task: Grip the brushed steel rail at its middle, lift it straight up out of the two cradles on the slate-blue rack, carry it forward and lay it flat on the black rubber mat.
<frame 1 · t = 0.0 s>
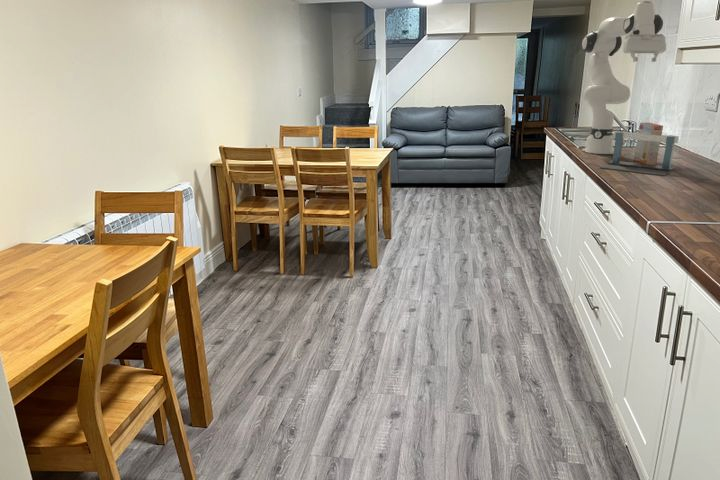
hand: (644, 61, 274), 52 cm above the kitchen counter, tool tilted 20°, fingers open, 8 cm apart
rack: (639, 167, 283), on the kitchen counter
mat: (633, 170, 274), on the kitchen counter
rail: (644, 139, 278), point 14 cm above the kitchen counter, touching rack
cracker box: (644, 163, 294), on the kitchen counter
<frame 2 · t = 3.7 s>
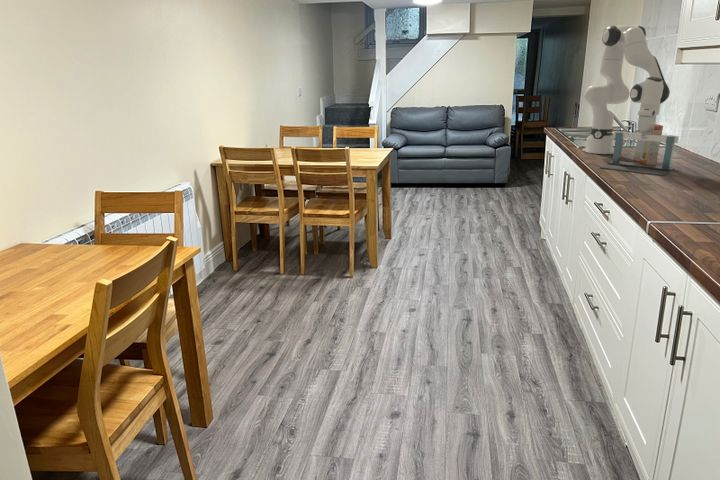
hand: (644, 138, 278), 15 cm above the kitchen counter, tool pointing down, fingers closed on rail, 3 cm apart
rail: (644, 139, 278), point 14 cm above the kitchen counter, touching gripper, rack
everything else where it was.
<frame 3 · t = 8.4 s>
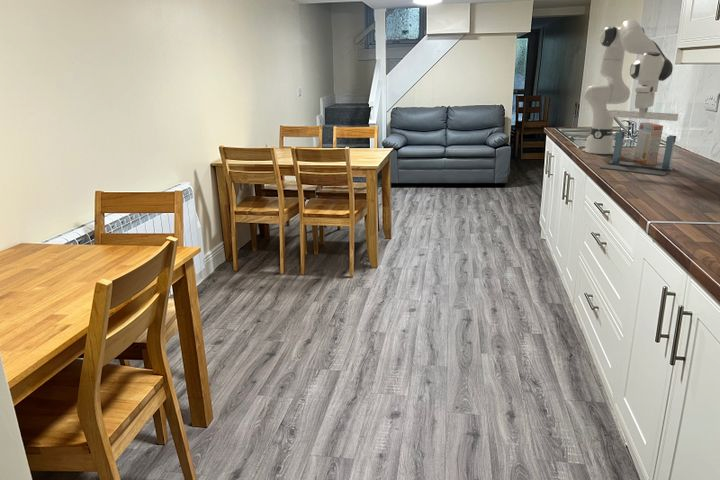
hand: (642, 117, 266), 26 cm above the kitchen counter, tool pointing down, fingers closed on rail, 3 cm apart
rail: (642, 118, 266), point 26 cm above the kitchen counter, touching gripper
everything else where it was.
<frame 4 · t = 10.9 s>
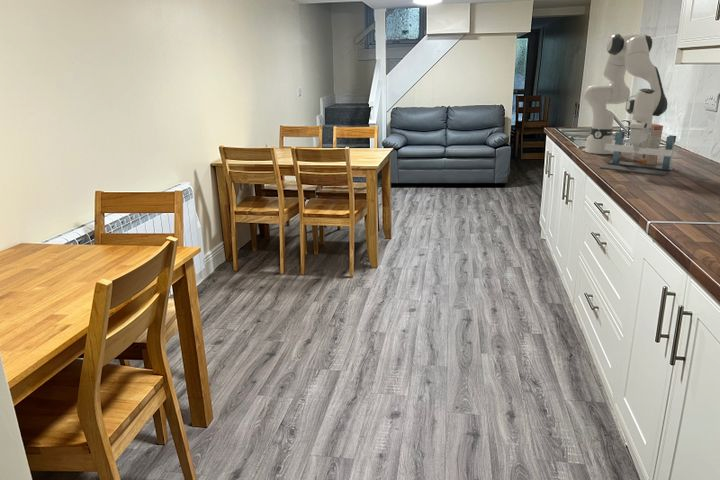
hand: (636, 151, 271), 10 cm above the kitchen counter, tool pointing down, fingers closed on rail, 3 cm apart
rail: (636, 152, 271), point 9 cm above the kitchen counter, touching gripper
everything else where it was.
when the fingers open (3 cm above the kitchen counter, at t = 13.2 s): rail drops 1 cm, resting on mat.
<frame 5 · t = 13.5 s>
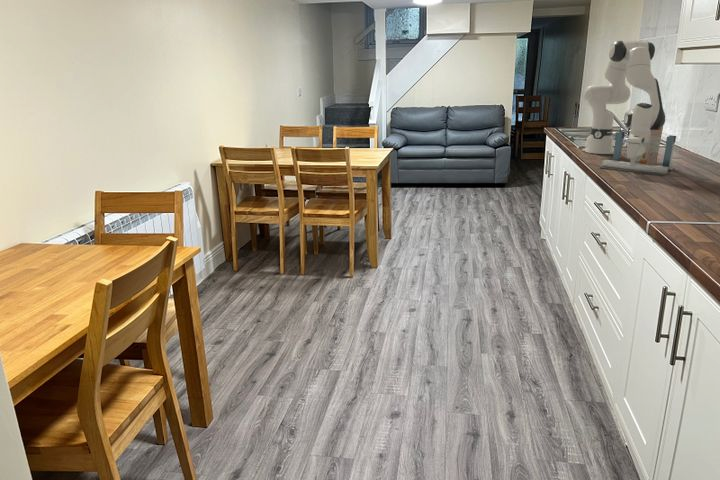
hand: (634, 165, 273), 3 cm above the kitchen counter, tool pointing down, fingers open, 6 cm apart
rail: (633, 169, 274), point 1 cm above the kitchen counter, touching mat
everything else where it was.
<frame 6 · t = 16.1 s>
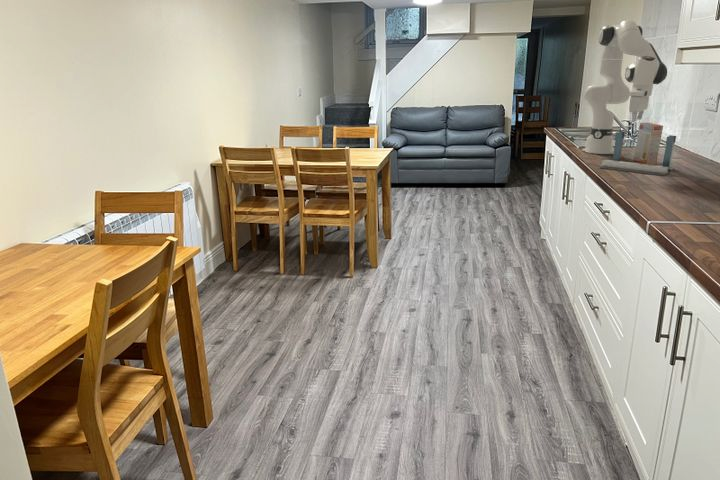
hand: (636, 120, 270), 24 cm above the kitchen counter, tool pointing down, fingers open, 8 cm apart
nothing on the kitchen counter moved.
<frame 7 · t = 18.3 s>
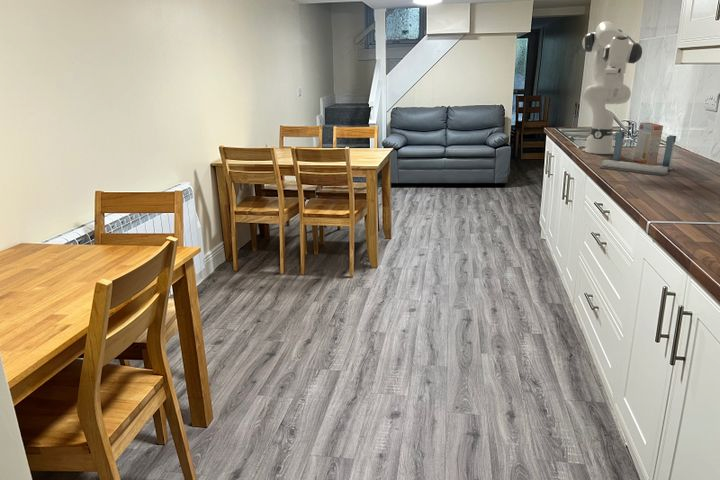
hand: (612, 97, 284), 34 cm above the kitchen counter, tool pointing down, fingers open, 8 cm apart
nothing on the kitchen counter moved.
at the end: rail inside the target area (0.0 cm from its centre), point 0.6 cm above the kitchen counter; rail tilted 0°; the gripper is holding nothing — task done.
